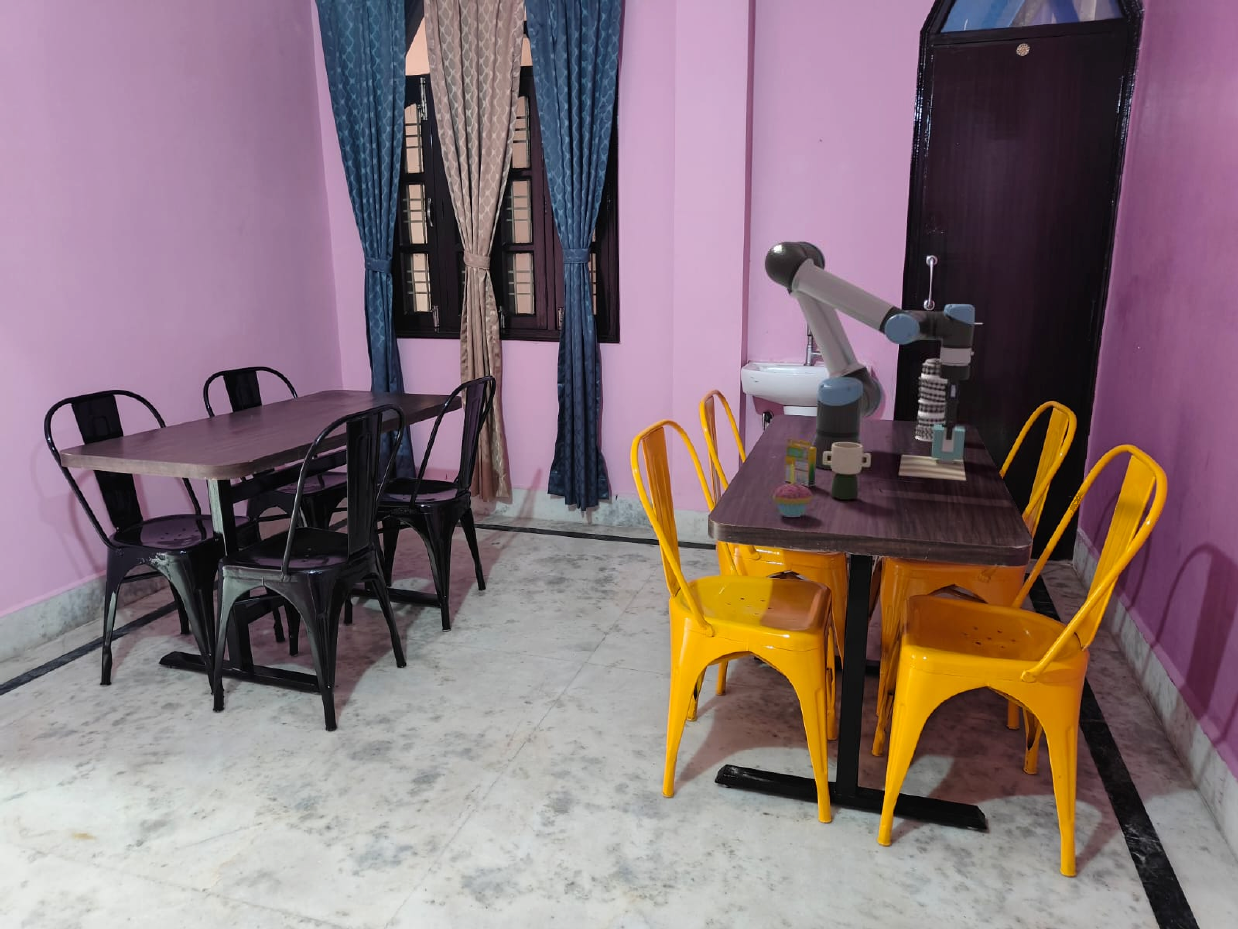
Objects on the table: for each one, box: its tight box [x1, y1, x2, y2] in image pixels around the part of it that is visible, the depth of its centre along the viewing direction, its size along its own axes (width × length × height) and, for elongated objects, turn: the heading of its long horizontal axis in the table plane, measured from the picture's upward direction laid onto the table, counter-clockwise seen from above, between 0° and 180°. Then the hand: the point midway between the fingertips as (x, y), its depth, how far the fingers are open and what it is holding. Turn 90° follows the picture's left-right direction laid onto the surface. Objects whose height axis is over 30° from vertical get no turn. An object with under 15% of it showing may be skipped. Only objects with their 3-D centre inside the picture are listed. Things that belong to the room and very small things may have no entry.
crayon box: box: [784, 437, 817, 487], centre depth 212 cm, size 7×3×12 cm, turn 41°
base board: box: [898, 454, 967, 481], centre depth 224 cm, size 24×16×2 cm, turn 160°
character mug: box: [823, 442, 872, 500], centre depth 199 cm, size 11×7×13 cm, turn 77°
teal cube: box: [931, 424, 966, 460], centre depth 228 cm, size 8×8×8 cm
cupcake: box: [772, 461, 813, 516], centre depth 186 cm, size 9×8×12 cm
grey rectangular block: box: [938, 459, 954, 464], centre depth 229 cm, size 4×4×6 cm
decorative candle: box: [914, 358, 949, 443], centre depth 263 cm, size 9×9×25 cm
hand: (947, 447), depth 228 cm, fingers closed on teal cube, 8 cm apart
